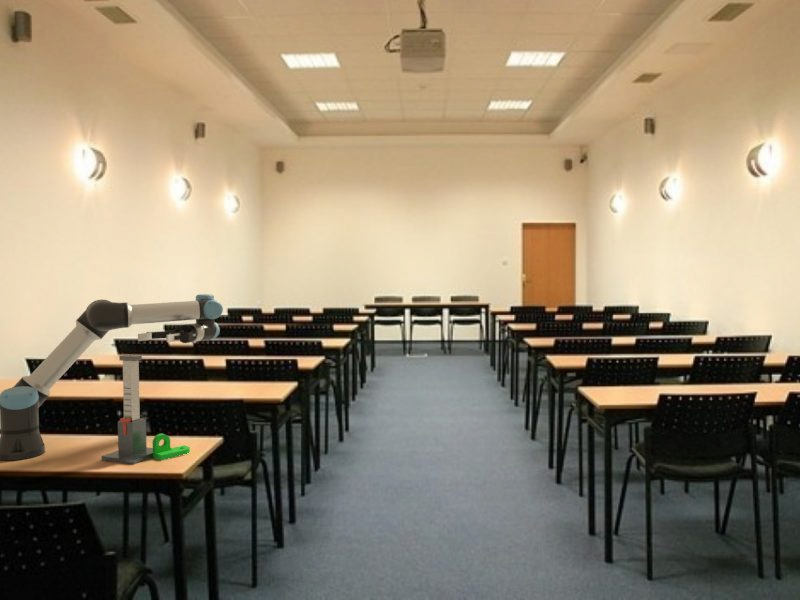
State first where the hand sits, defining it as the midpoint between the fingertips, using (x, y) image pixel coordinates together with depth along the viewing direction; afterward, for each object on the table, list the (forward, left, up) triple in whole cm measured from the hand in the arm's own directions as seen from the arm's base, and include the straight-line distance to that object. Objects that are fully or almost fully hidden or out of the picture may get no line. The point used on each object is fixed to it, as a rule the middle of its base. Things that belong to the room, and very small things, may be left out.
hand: (152, 338), depth 237 cm
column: (+6, -18, -32) cm, 37 cm away
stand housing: (+6, -18, -40) cm, 44 cm away
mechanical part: (+18, -11, -40) cm, 46 cm away
